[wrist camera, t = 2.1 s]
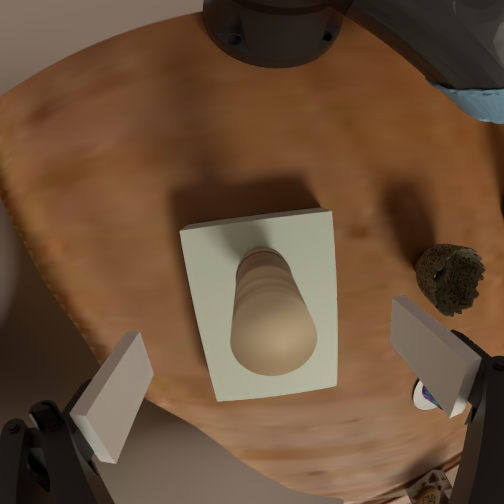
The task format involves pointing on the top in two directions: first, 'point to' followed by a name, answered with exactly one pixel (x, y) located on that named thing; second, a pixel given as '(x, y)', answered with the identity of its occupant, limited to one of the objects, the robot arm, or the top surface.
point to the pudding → (420, 400)
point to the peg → (270, 316)
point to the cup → (449, 277)
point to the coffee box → (431, 489)
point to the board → (224, 283)
